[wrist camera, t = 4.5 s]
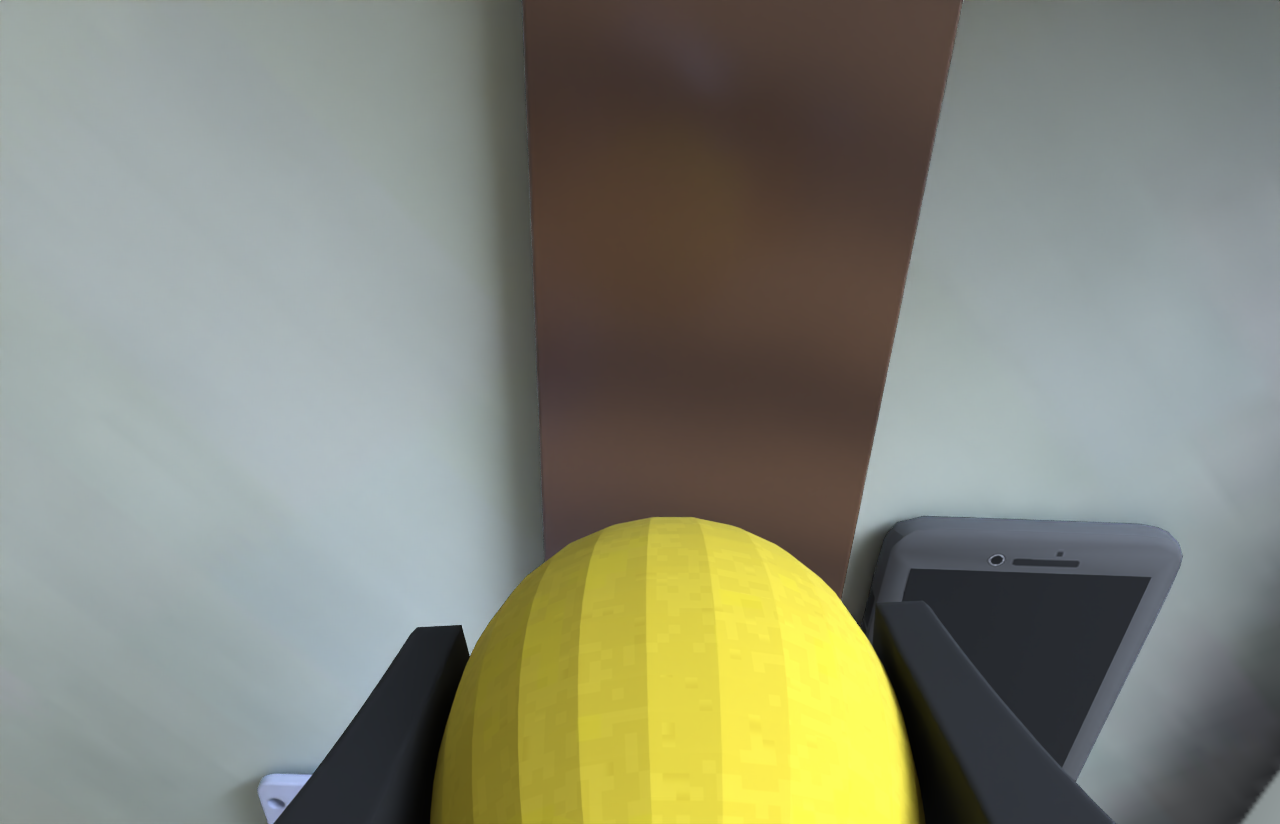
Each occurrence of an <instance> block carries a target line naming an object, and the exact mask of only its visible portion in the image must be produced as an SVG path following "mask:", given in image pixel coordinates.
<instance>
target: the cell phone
mask: <svg viewBox="0 0 1280 824" xmlns="http://www.w3.org/2000/svg"><path fill="white" fill-rule="evenodd" d="M1182 558H1183V555H1182V552H1181V548H1180V545H1179V543H1178V541H1177V540H1176V539H1175V538H1174V537H1173V536H1172V535H1171V534H1170V533H1169V532H1167V531H1165V530H1163V529H1161V528H1158V527H1154V526H1149V525H1144V524H1132V523H1104V522H1076V521H1049V520H1021V519H994V518H966V517H939V516H921V517H917V518H913V519H909V520H905V521H900V522H897V523H896V524H895V525H894V526H893V528H892V529H891V530H890V531H889V532H888V533H887V535H886V536H885V538H884V541H883V544H882V548H881V551H880V555H879V558H878V562H877V565H876V569H875V573H874V578H873V582H872V586H871V590H870V594H869V598H868V602H867V606H866V610H865V614H864V618H863V622H862V626H861V630H862V631H863V633H864V634H865V636H866V637H867V639H868V640H869V641H870V643H871V644H872V640H873V628H874V617H875V605H876V603H886V602H905V601H924V602H925V603H926V604H927V605H928V606H930V608H931V609H932V610H933V612H934V613H935V615H936V616H937V617H938V619H939V620H940V621H941V623H942V624H943V625H944V627H945V628H946V630H947V631H948V632H949V634H950V635H951V636H952V638H953V639H954V640H955V642H956V643H957V644H958V645H959V647H960V648H961V649H962V651H963V652H964V653H965V655H966V656H967V657H968V658H969V660H970V661H971V662H972V663H973V665H974V666H975V667H976V668H977V670H978V671H979V672H980V674H981V675H982V676H983V677H984V679H985V680H986V681H987V682H988V684H989V685H990V686H991V687H992V688H993V690H994V691H995V692H996V693H997V694H998V696H999V697H1000V698H1001V699H1002V700H1003V702H1004V703H1005V704H1006V705H1007V706H1008V708H1009V709H1010V710H1011V711H1012V712H1013V713H1014V714H1015V716H1016V717H1017V718H1018V719H1019V720H1020V721H1021V723H1022V724H1023V725H1024V726H1025V727H1026V728H1027V729H1028V731H1029V732H1030V733H1031V734H1032V735H1033V736H1034V737H1035V739H1036V740H1037V741H1038V742H1039V743H1040V744H1041V746H1042V747H1043V748H1044V749H1045V750H1046V751H1047V752H1048V753H1049V754H1050V755H1051V756H1052V758H1053V759H1054V760H1055V761H1056V762H1057V763H1058V764H1059V765H1060V766H1061V767H1062V769H1063V770H1064V771H1065V772H1066V773H1067V774H1068V775H1069V776H1070V777H1071V778H1072V779H1073V780H1074V781H1075V782H1076V780H1077V778H1078V776H1079V774H1080V772H1081V770H1082V768H1083V766H1084V764H1085V762H1086V760H1087V758H1088V756H1089V754H1090V752H1091V750H1092V748H1093V746H1094V744H1095V742H1096V740H1097V738H1098V736H1099V733H1100V731H1101V729H1102V727H1103V725H1104V723H1105V721H1106V719H1107V717H1108V715H1109V713H1110V711H1111V709H1112V707H1113V705H1114V703H1115V701H1116V699H1117V697H1118V695H1119V693H1120V691H1121V689H1122V687H1123V685H1124V683H1125V681H1126V679H1127V677H1128V675H1129V673H1130V670H1131V668H1132V666H1133V664H1134V662H1135V660H1136V658H1137V656H1138V654H1139V652H1140V650H1141V648H1142V646H1143V644H1144V642H1145V640H1146V638H1147V636H1148V634H1149V632H1150V630H1151V628H1152V626H1153V624H1154V622H1155V620H1156V618H1157V616H1158V614H1159V612H1160V610H1161V608H1162V605H1163V603H1164V601H1165V599H1166V597H1167V595H1168V593H1169V591H1170V589H1171V587H1172V584H1173V582H1174V580H1175V577H1176V575H1177V573H1178V570H1179V568H1180V566H1181V562H1182Z"/></svg>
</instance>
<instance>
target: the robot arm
mask: <svg viewBox="0 0 1280 824" xmlns="http://www.w3.org/2000/svg"><path fill="white" fill-rule="evenodd" d="M872 646H873V648H874V650H875V652H876V653H877V655H878V657H879V659H880V660H881V662H882V664H883V666H884V668H885V670H886V673H887V675H888V677H889V679H890V682H891V684H892V686H893V688H894V691H895V694H896V697H897V700H898V702H899V705H900V708H901V711H902V714H903V717H904V722H905V726H906V730H907V734H908V738H909V742H910V746H911V751H912V755H913V759H914V763H915V767H916V771H917V776H918V780H919V784H920V790H921V796H922V802H923V808H924V815H925V824H1116V823H1115V822H1114V821H1113V820H1112V819H1111V818H1110V817H1109V816H1108V815H1107V814H1106V813H1105V812H1104V811H1103V810H1102V809H1101V808H1100V807H1099V806H1098V805H1097V804H1096V803H1095V802H1094V801H1093V800H1092V799H1091V798H1090V797H1089V796H1088V795H1087V794H1086V793H1085V792H1084V791H1083V789H1082V788H1081V787H1080V786H1079V785H1078V784H1077V783H1076V782H1075V781H1074V780H1073V779H1072V778H1071V777H1070V776H1069V775H1068V774H1067V773H1066V772H1065V771H1064V770H1063V769H1062V767H1061V766H1060V765H1059V764H1058V763H1057V762H1056V761H1055V760H1054V759H1053V758H1052V756H1051V755H1050V754H1049V753H1048V752H1047V751H1046V750H1045V749H1044V748H1043V747H1042V746H1041V744H1040V743H1039V742H1038V741H1037V740H1036V739H1035V737H1034V736H1033V735H1032V734H1031V733H1030V732H1029V731H1028V729H1027V728H1026V727H1025V726H1024V725H1023V724H1022V723H1021V721H1020V720H1019V719H1018V718H1017V717H1016V716H1015V714H1014V713H1013V712H1012V711H1011V710H1010V709H1009V708H1008V706H1007V705H1006V704H1005V703H1004V702H1003V700H1002V699H1001V698H1000V697H999V696H998V694H997V693H996V692H995V691H994V690H993V688H992V687H991V686H990V685H989V684H988V682H987V681H986V680H985V679H984V677H983V676H982V675H981V674H980V672H979V671H978V670H977V668H976V667H975V666H974V665H973V663H972V662H971V661H970V660H969V658H968V657H967V656H966V655H965V653H964V652H963V651H962V649H961V648H960V647H959V645H958V644H957V643H956V642H955V640H954V639H953V638H952V636H951V635H950V634H949V632H948V631H947V630H946V628H945V627H944V625H943V624H942V623H941V621H940V620H939V619H938V617H937V616H936V615H935V613H934V612H933V610H932V609H931V608H930V606H928V605H927V604H926V603H925V602H924V601H905V602H886V603H876V605H875V617H874V628H873V640H872ZM469 658H470V656H469V652H468V648H467V644H466V641H465V637H464V633H463V629H462V625H452V626H433V627H417V628H416V629H415V630H414V631H413V632H412V633H411V634H410V636H409V637H408V639H407V641H406V642H405V644H404V645H403V647H402V648H401V650H400V651H399V653H398V654H397V656H396V657H395V659H394V660H393V662H392V663H391V665H390V666H389V668H388V669H387V671H386V672H385V674H384V675H383V677H382V678H381V680H380V681H379V683H378V684H377V686H376V687H375V689H374V690H373V691H372V693H371V694H370V696H369V697H368V699H367V700H366V702H365V703H364V704H363V706H362V707H361V709H360V710H359V712H358V713H357V715H356V716H355V717H354V719H353V720H352V722H351V723H350V724H349V726H348V727H347V728H346V730H345V731H344V733H343V734H342V735H341V737H340V738H339V739H338V741H337V742H336V743H335V745H334V746H333V748H332V749H331V750H330V752H329V753H328V754H327V756H326V757H325V759H324V760H323V761H322V763H321V764H320V765H319V767H318V768H317V769H316V771H315V772H314V773H313V774H268V775H266V776H264V777H263V778H262V779H261V781H260V783H259V786H258V788H257V792H258V796H259V799H260V802H261V805H262V808H263V811H264V814H265V817H266V820H267V823H268V824H430V813H431V802H432V792H433V781H434V776H435V770H436V764H437V759H438V753H439V749H440V745H441V742H442V738H443V734H444V730H445V727H446V723H447V720H448V717H449V714H450V711H451V707H452V704H453V701H454V698H455V695H456V692H457V689H458V686H459V683H460V680H461V678H462V675H463V672H464V669H465V667H466V664H467V662H468V660H469Z"/></svg>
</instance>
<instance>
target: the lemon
mask: <svg viewBox="0 0 1280 824" xmlns="http://www.w3.org/2000/svg"><path fill="white" fill-rule="evenodd" d="M430 824H925V815H924V808H923V802H922V796H921V790H920V784H919V780H918V776H917V771H916V767H915V763H914V759H913V755H912V751H911V746H910V742H909V738H908V734H907V730H906V726H905V722H904V717H903V714H902V711H901V708H900V705H899V702H898V700H897V697H896V694H895V691H894V688H893V686H892V684H891V682H890V679H889V677H888V675H887V673H886V670H885V668H884V666H883V664H882V662H881V660H880V659H879V657H878V655H877V653H876V652H875V650H874V648H873V646H872V644H871V643H870V641H869V640H868V639H867V637H866V636H865V634H864V633H863V631H862V630H861V629H860V627H859V626H858V624H857V623H856V621H855V620H854V619H853V617H852V616H851V614H850V613H849V611H848V610H847V609H846V607H845V606H844V604H843V603H842V602H841V600H840V599H839V597H838V596H837V595H836V593H835V592H834V591H833V590H832V589H831V588H830V587H829V586H828V585H827V584H826V583H825V582H824V581H823V580H822V579H821V578H820V577H819V576H817V575H816V574H815V573H814V572H812V571H811V570H810V569H808V568H807V567H806V566H805V565H803V564H802V563H801V562H800V561H798V560H797V559H796V558H794V557H793V556H792V555H791V554H789V553H788V552H786V551H785V550H783V549H782V548H780V547H779V546H777V545H776V544H774V543H772V542H769V541H767V540H765V539H763V538H761V537H758V536H756V535H754V534H752V533H749V532H747V531H745V530H743V529H741V528H738V527H735V526H731V525H727V524H723V523H718V522H713V521H708V520H703V519H698V518H694V517H651V518H646V519H640V520H635V521H630V522H625V523H620V524H615V525H612V526H609V527H607V528H605V529H602V530H600V531H598V532H595V533H593V534H591V535H588V536H586V537H584V538H581V539H579V540H577V541H574V542H572V543H570V544H568V545H567V546H566V547H564V548H563V549H562V550H560V551H559V552H558V553H556V554H555V555H554V556H552V557H551V558H550V559H548V560H547V561H546V562H544V563H543V564H542V565H540V566H539V567H538V568H537V569H535V570H534V571H533V572H531V573H530V574H529V575H527V576H526V577H525V578H524V579H523V580H522V582H521V583H520V584H519V585H518V586H517V587H516V588H515V590H514V591H513V592H512V593H511V595H510V596H509V597H508V599H507V600H506V601H505V603H504V604H503V605H502V606H501V608H500V609H499V610H498V612H497V613H496V614H495V616H494V617H493V618H492V620H491V621H490V622H489V624H488V625H487V627H486V628H485V630H484V632H483V633H482V635H481V636H480V638H479V640H478V641H477V643H476V645H475V647H474V649H473V651H472V653H471V656H470V658H469V660H468V662H467V664H466V667H465V669H464V672H463V675H462V678H461V680H460V683H459V686H458V689H457V692H456V695H455V698H454V701H453V704H452V707H451V711H450V714H449V717H448V720H447V723H446V727H445V730H444V734H443V738H442V742H441V745H440V749H439V753H438V759H437V764H436V770H435V776H434V781H433V792H432V802H431V813H430Z"/></svg>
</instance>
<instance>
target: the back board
mask: <svg viewBox="0 0 1280 824" xmlns="http://www.w3.org/2000/svg"><path fill="white" fill-rule="evenodd" d="M962 4H963V0H522V20H523V44H524V69H525V94H526V119H527V144H528V169H529V194H530V218H531V243H532V268H533V293H534V318H535V343H536V368H537V392H538V417H539V442H540V467H541V492H542V517H543V542H544V562H546V561H547V560H548V559H550V558H551V557H552V556H554V555H555V554H556V553H558V552H559V551H560V550H562V549H563V548H564V547H566V546H567V545H568V544H570V543H572V542H574V541H577V540H579V539H581V538H584V537H586V536H588V535H591V534H593V533H595V532H598V531H600V530H602V529H605V528H607V527H609V526H612V525H615V524H620V523H625V522H630V521H635V520H640V519H646V518H651V517H694V518H698V519H703V520H708V521H713V522H718V523H723V524H727V525H731V526H735V527H738V528H741V529H743V530H745V531H747V532H749V533H752V534H754V535H756V536H758V537H761V538H763V539H765V540H767V541H769V542H772V543H774V544H776V545H777V546H779V547H780V548H782V549H783V550H785V551H786V552H788V553H789V554H791V555H792V556H793V557H794V558H796V559H797V560H798V561H800V562H801V563H802V564H803V565H805V566H806V567H807V568H808V569H810V570H811V571H812V572H814V573H815V574H816V575H817V576H819V577H820V578H821V579H822V580H823V581H824V582H825V583H826V584H827V585H828V586H829V587H830V588H831V589H832V590H833V591H834V592H835V593H836V595H837V596H838V597H839V599H840V600H841V598H842V593H843V588H844V583H845V578H846V573H847V568H848V563H849V558H850V553H851V548H852V544H853V539H854V534H855V529H856V524H857V519H858V514H859V509H860V504H861V499H862V494H863V490H864V485H865V480H866V475H867V470H868V465H869V460H870V455H871V450H872V445H873V440H874V436H875V431H876V426H877V421H878V416H879V411H880V406H881V401H882V396H883V391H884V386H885V382H886V377H887V372H888V367H889V362H890V357H891V352H892V347H893V342H894V337H895V332H896V328H897V323H898V318H899V313H900V308H901V303H902V298H903V293H904V288H905V283H906V279H907V274H908V269H909V264H910V259H911V254H912V249H913V244H914V239H915V234H916V229H917V225H918V220H919V215H920V210H921V205H922V200H923V195H924V190H925V185H926V180H927V175H928V171H929V166H930V161H931V156H932V151H933V146H934V141H935V136H936V131H937V126H938V121H939V117H940V112H941V107H942V102H943V97H944V92H945V87H946V82H947V77H948V72H949V67H950V63H951V58H952V53H953V48H954V43H955V38H956V33H957V28H958V23H959V18H960V13H961V9H962Z"/></svg>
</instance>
